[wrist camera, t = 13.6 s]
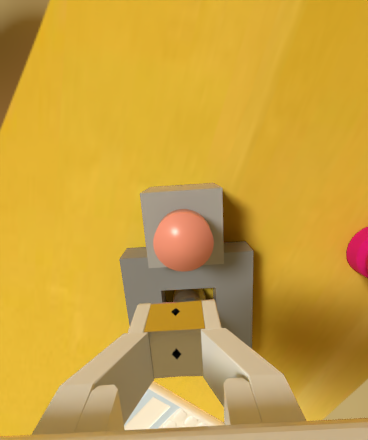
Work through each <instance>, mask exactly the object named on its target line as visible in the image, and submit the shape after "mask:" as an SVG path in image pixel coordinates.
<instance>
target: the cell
mask: <svg viewBox="0 0 368 440" xmlns="http://www.w3.org/2000/svg"><path fill="white" fill-rule="evenodd" d="M201 300H206V297H205V292H204V290H203V289H202V288H199V289H181V290H175V292H174V298H173V302H188V301H201Z"/></svg>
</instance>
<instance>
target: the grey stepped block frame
mask: <svg viewBox="0 0 368 440" xmlns="http://www.w3.org/2000/svg"><path fill="white" fill-rule="evenodd" d="M140 198H141V206H142V215H143V223H144V232H145V241H146V247H141V248H127V249H126V251H125V252H124V253H123V255H122V256H121V258H120V265H121V272H122V278H123V285H124V292H125V298H126V305H127V311H128V318H129V324H130V325H131V322H132V319H133V316H134V313H135V311H136V308H137V305H138V304H141V303H163V302H166V295H165V290H181V289H199V288H213V299H214V300H215V303H216V307H217V311H218V315H219V319H220V323H221V327H222V328H226V329H228V330H229V331H230V332H231V333H233V334H234V335H235V336H236V337H238V338H239V339H240V340H241V341H243V342H244V343H245V344H246V345H248V346H249V347H250V348H251V349H252V310H253V250H252V249H251V247H250V246H249V245H248V244H247V243H246V241H240V242H223V195H222V187H220V186H218V185H216V184H215V183H205V184H190V185H175V186H160V187H150V188H148V189H146V190H145V191H143V192H141V193H140ZM178 209H189V210H193V211H195V212H197V213H199V214H200V215H202V216H203V217H204V218H205V220H206V221H207V223H208V225H209V227H210V230H211V232H212V235H213V240H214V246H213V251H212V254H211V256H210V258H209V259H208V260H207V261H206V263H204V264H203V265H202V266H201V267H199V268H197V269H195V270H191V271H176V270H172V269H170V268H168V267H166V266H165V265H164V264H163V263H161V261H160V260H159V259H158V257H157V256H156V254H155V251H154V247H153V239H154V235H155V232H156V230H157V228H158V225H159V223H160V222H161V220H162V219H163V218H164V217H165V216H166V215H167V214H168V213H170V212H172V211H174V210H178Z"/></svg>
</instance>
